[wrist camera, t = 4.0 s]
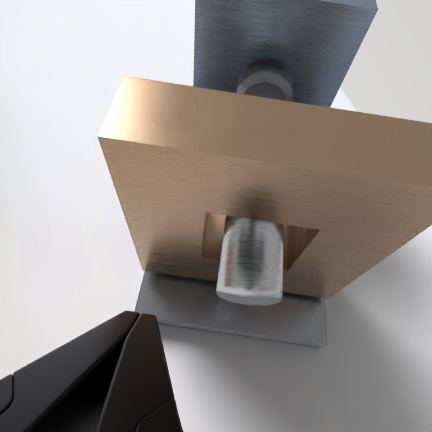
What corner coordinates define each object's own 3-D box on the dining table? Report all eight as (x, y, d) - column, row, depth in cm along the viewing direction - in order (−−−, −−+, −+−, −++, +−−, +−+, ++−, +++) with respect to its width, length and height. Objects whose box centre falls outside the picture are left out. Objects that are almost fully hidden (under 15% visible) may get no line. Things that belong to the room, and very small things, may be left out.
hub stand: (319, 347, 17) (485, 282, 8) (136, 319, 17) (73, 219, 8) (312, 147, 24) (392, -13, 15) (184, 127, 24) (182, -46, 15)
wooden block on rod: (328, 298, 17) (474, 193, 8) (143, 270, 17) (97, 136, 8) (325, 255, 18) (451, 126, 10) (153, 229, 18) (123, 76, 10)
